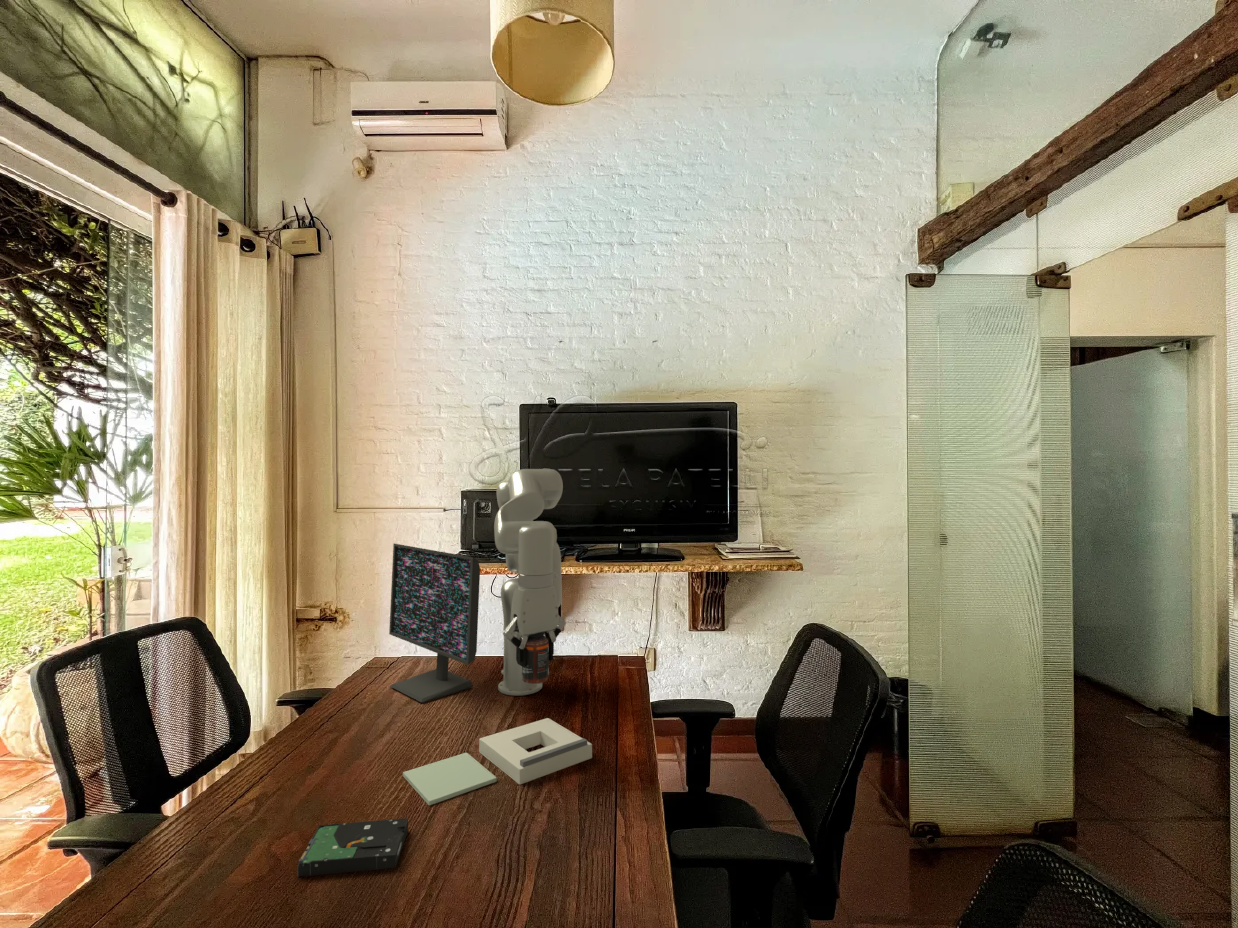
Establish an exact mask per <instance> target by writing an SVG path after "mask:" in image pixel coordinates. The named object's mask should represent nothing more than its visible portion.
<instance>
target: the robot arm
mask: <svg viewBox="0 0 1238 928" xmlns="http://www.w3.org/2000/svg"><path fill="white" fill-rule="evenodd" d="M563 484H564V483H563V479H562V475H561V474H560V472H558V471H557V470H556V469H552V468H522V469H517V470H516V471H514V472H512V474H511V475H510V476H509V478H508V480H505V481H502V482H500V483H499V484H498V485H497V488H496V499H497V500H496V501H497V505H498V508H499V509H498V511H497V512H496V515H495V518H494V523H493V524H494V525H493V527H494V529H493V530H494V543H495V548H496V549H497V550H498V552H500V553H501V554H503V555H504V554H505V564H506V568H507V571H509V572H510V573H515V574H518V577H516V578H511V579H508V580H506V581H505V582H504V583H503V584H502V586H500V587H501V588H500V600H501V605H502V606H501V607H502V615H503V632H502V635H503V669H501V672H500V673H501V675H503V680H502V681H500V682H499V683H498V685H497V689H498V691H499V692H500V693H501V694H503V695H507V696H517V697H518V696H527V695H531V694H535V693H537V692H540V690H541V689H543V682H542V683H538V684H530V683H526V682H524V681H523V680H522V667H526V666H527V649H526V648H525V645H526V641H527V638H528V635H532V634H536V633H539V632H544V636H545V637H546V638H547V639H548V643H549V662H551V661H553V660H554V655H555V651H554V650H555V649H554V647H555V645H554V643H555V642H556V641H557V638H558V636H559V635H560V633H561V631H562V630H563V628H564V627H565V626H566V624H567V623H566V621H565V620H564V619H563V618H562V617H561V616H560V614H559V607H560V606H561V604H562V599H563V588H562V586H563V585H562V557H561V555H562V554H561V548H560V546H559V544H558V542H557V539H558V534H557V529H556V527H555V526H554V525H553V523H551V522H550V521H546V520H545V521H544V520H536V519H538V517H540V516H541V515H542V513H543V511H544V510H551V509H553V508H555V507H556V506H557V505H558V503H559V501H560V499H561V498H562V495H563V489H564V485H563ZM534 520H535V521H534Z"/></svg>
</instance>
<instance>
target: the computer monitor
mask: <svg viewBox="0 0 1238 928" xmlns="http://www.w3.org/2000/svg"><path fill="white" fill-rule="evenodd" d="M392 547H393V551H392V568H391V569H392V570H391V573H392V574H391V590H390V593H391V594H390V611H389V633H388V634H389V636H393V637H395V638H398V639H401V640H403V641H404V642H405V641H406V642H408V643H411V644H413V645H416V646H418V647H421V648H424V649H426V650H427V651H430V652H433V653H435V654H436V666H435V667H436V669H435V668H434V669H431V670H429V671H427V672H423V673H421V674H418V675H417V674H416V675H415V676H412V677H409V678H406V679H404V680H401V681H398V682H394V683H393V684H391V685H389V687H390V688H393V689H394V690H397V691H398V692H400V693H402V694H404V695H406V696H408V697H410V698H411V699H414V700H415V699H416V701H418V702H420V703H421V704H423V703H428V702H430V700H431V701H434V700H437V699H440V698H443V696H444V697H446V696H450V695H453V694H456V693H460V692H462V691H466V690H469V689H471V688H473V686H474V684H473V683H472V682H471V680H470V679H467V678H465V677H462V676H459V675H458V674H455V673H454V672H453V673H452V672H451V671H449V659H451V660H454V661H456V662H458V663H461V664H464V665H466V666H470V665H471V664H472V663H473V662H474V661H475V658H476V655H477V651H478V626H479V604H480V603H479V602H480V599H479V598H480V579H481V578H480V577H481V576H480V575H481V568H480V562H479V560H478V559H476V558H475V557H473V556H467V555H461V554H456V553H450V552H445V551H440V550H433V549H427V548H422V547H416V546H410V545H405V544H399V543H393V546H392ZM436 698H437V699H436ZM433 699H434V700H433ZM427 701H428V702H427Z"/></svg>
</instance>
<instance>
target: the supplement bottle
mask: <svg viewBox="0 0 1238 928" xmlns="http://www.w3.org/2000/svg"><path fill="white" fill-rule="evenodd" d="M525 648H526V649H527V666H526V667H522V680H523V681H524V682H526V683H530V684H538V683H542V684H543V683H544V682H547V681H548V680H549V677H550V675H549V674H550V673H549V671H550V670H549V664H550V661H549V643H548V639H547V638H546V637H545V636H544V632H539V633H536V634H532V635H528V638H527V641H526V645H525Z"/></svg>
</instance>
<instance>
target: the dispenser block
mask: <svg viewBox="0 0 1238 928" xmlns="http://www.w3.org/2000/svg"><path fill="white" fill-rule="evenodd" d="M540 745H541V746H543V747H541V748H538V749H536V750H531V751H527V749H529V748H530V749H531V748H534V747H536V746H540ZM478 752H479V753H480V755H482V756H484V757H485V758H486V759H487V760H488V761H489V762H491V763H492V764H493V765H494V766H496V767H497V768H498V769H500V771H502V772H503V773H505V774H506V775H507V776H508V777H510V778H511V779H512V780H513V781H514V782H515V783H516V784H518V785H522V784H525V783H528V782H531V781H534V780H536V779H539V778H541V777H544V776H547V775H550V774H553V773H556V772H557V771H561V770H563V769H567V768H568V767H571V766H574V765H577V764H579V763H583V762H585V761H587V760H590V759H593V744H592V743H591V742H589V741H588V739H586V738H583V737H581V736H579V735H577V734H576V733H574V732H573V731H571V730H570V729H567V728H566V727H564V726H562V725H560V724H559V723H557V722H556V721H554V720H552V719H551V718H548V717H546V718H543V719H540V720H536V721H533V722H530V723H527V724H523V725H520V726H519V725H518V726H517V727H513V728H510V729H506V730H502V731H500V732H497V733H493V734H490V735H487V736H483V737H480V738H479V741H478Z"/></svg>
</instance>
